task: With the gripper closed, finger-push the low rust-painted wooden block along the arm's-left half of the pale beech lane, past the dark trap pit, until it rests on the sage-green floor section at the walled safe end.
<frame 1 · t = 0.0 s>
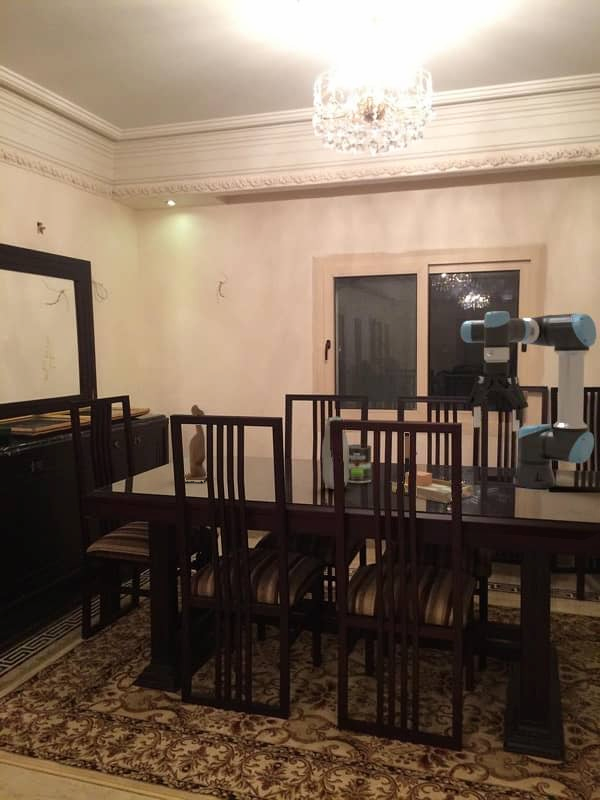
hand: (496, 428, 198), 28 cm above the table, fingers open, 13 cm apart
coffee can: (358, 481, 256), on the table
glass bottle: (336, 489, 242), on the table
block: (418, 483, 239), point 2 cm above the table, touching trap lane
travel mug: (407, 477, 261), on the table
bird sculpture: (197, 480, 263), on the table
trap lane: (428, 493, 232), on the table
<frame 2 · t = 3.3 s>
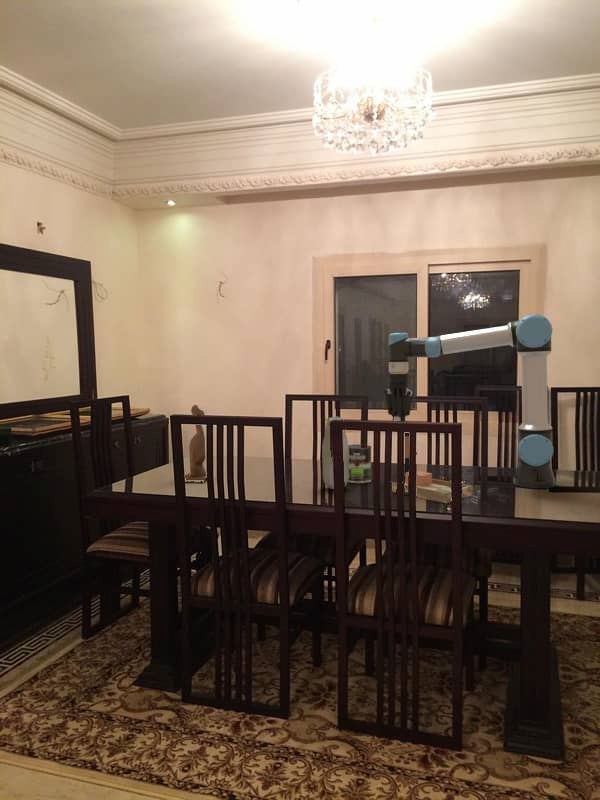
hand: (398, 433, 245), 20 cm above the table, fingers closed
nothing on the table moved.
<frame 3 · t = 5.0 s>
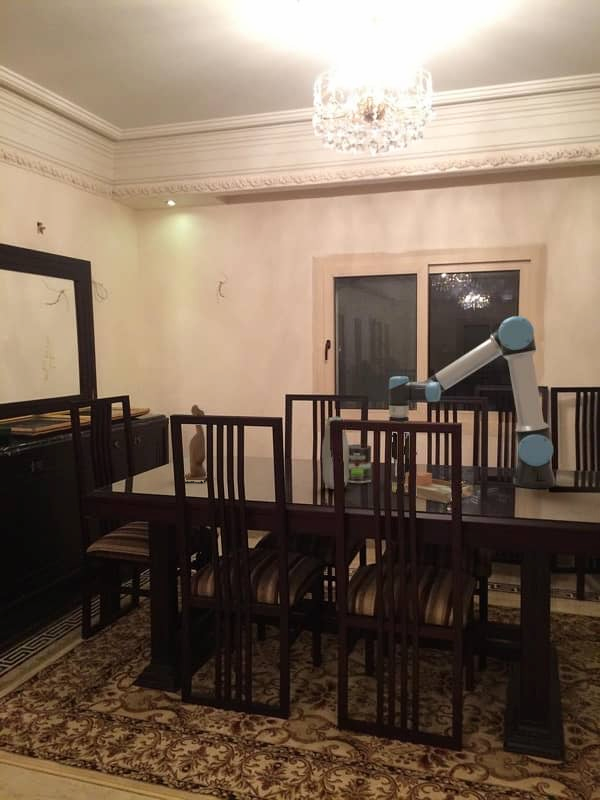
hand: (398, 475, 246), 4 cm above the table, fingers closed
nothing on the table moved.
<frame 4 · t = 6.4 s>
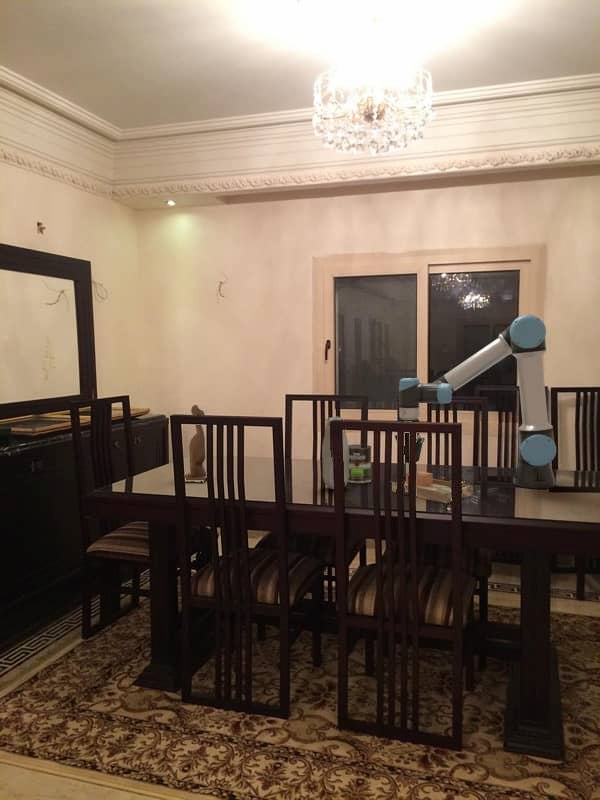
hand: (409, 479, 243), 3 cm above the table, fingers closed
block: (419, 483, 239), point 2 cm above the table, touching gripper
everything else where it was.
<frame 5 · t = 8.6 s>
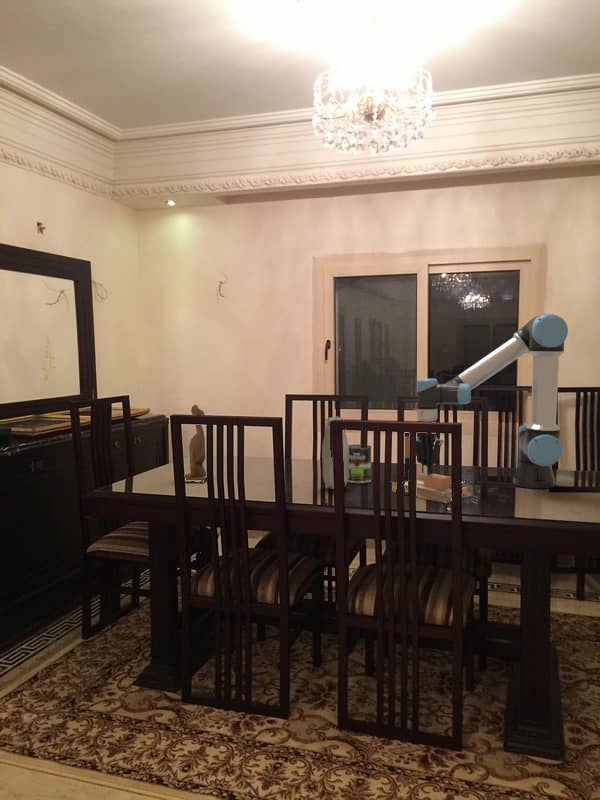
hand: (427, 482, 236), 3 cm above the table, fingers closed
block: (437, 487, 233), point 2 cm above the table, touching gripper
everything else where it was.
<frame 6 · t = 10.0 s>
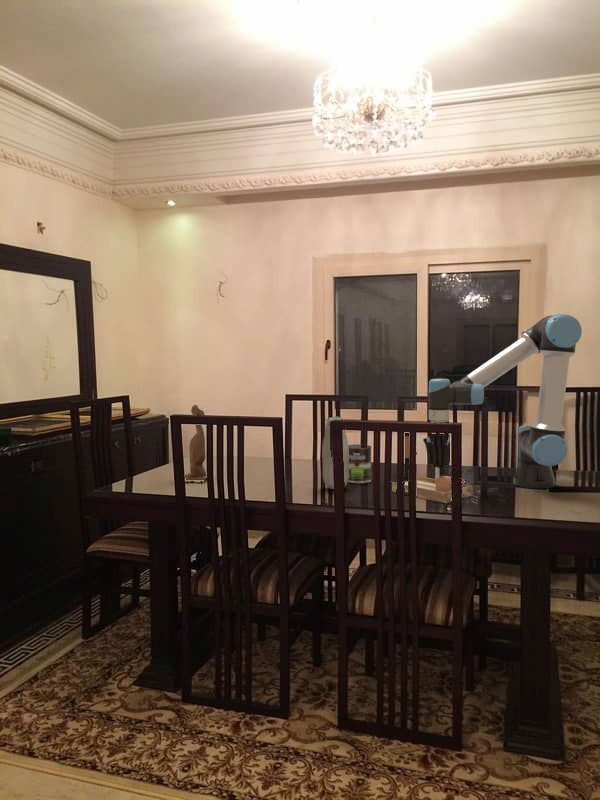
hand: (439, 484, 232), 3 cm above the table, fingers closed
block: (449, 489, 229), point 2 cm above the table, touching gripper, trap lane
everything else where it was.
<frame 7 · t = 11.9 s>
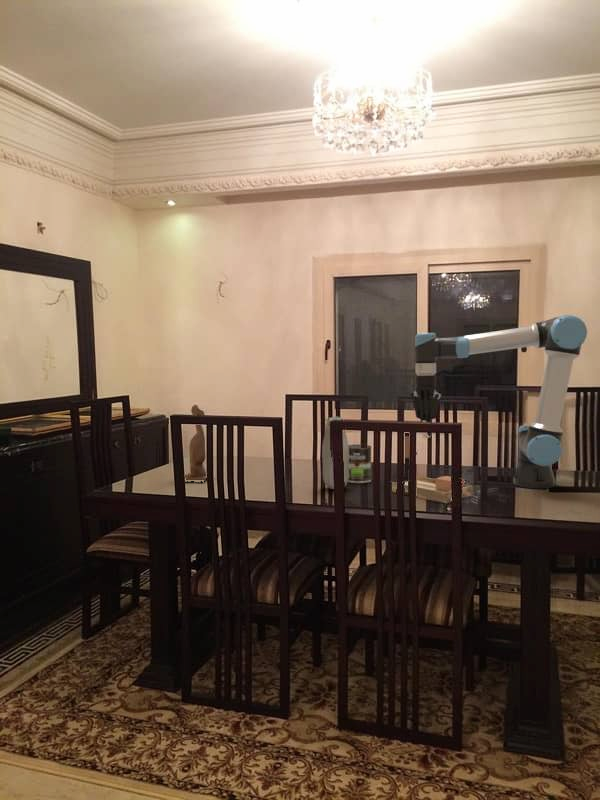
hand: (426, 437, 235), 20 cm above the table, fingers closed
block: (449, 489, 229), point 2 cm above the table, touching trap lane
everything else where it was.
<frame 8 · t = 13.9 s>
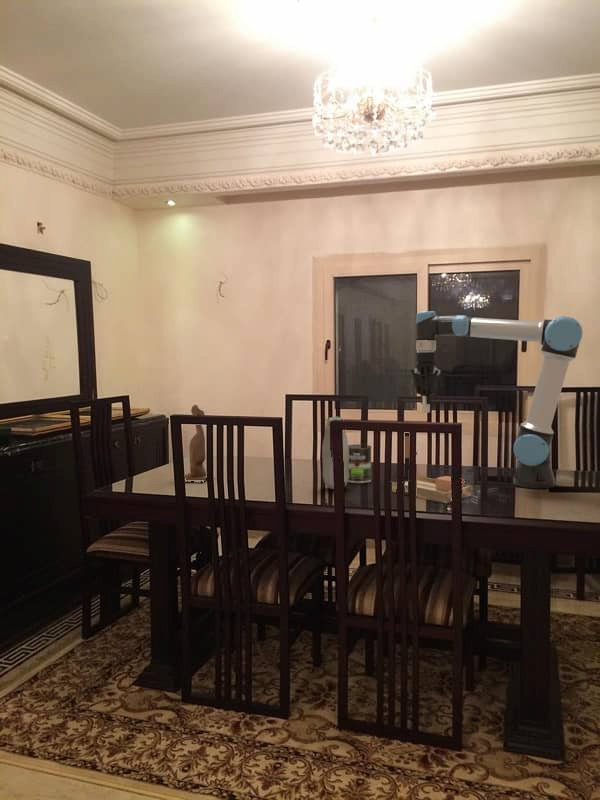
hand: (426, 412, 244), 28 cm above the table, fingers closed
nothing on the table moved.
at the end: block 0.3 cm from the target spot on the trap lane, point 2.0 cm above the trap lane's base; block tilted 0°; the gripper is holding nothing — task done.
